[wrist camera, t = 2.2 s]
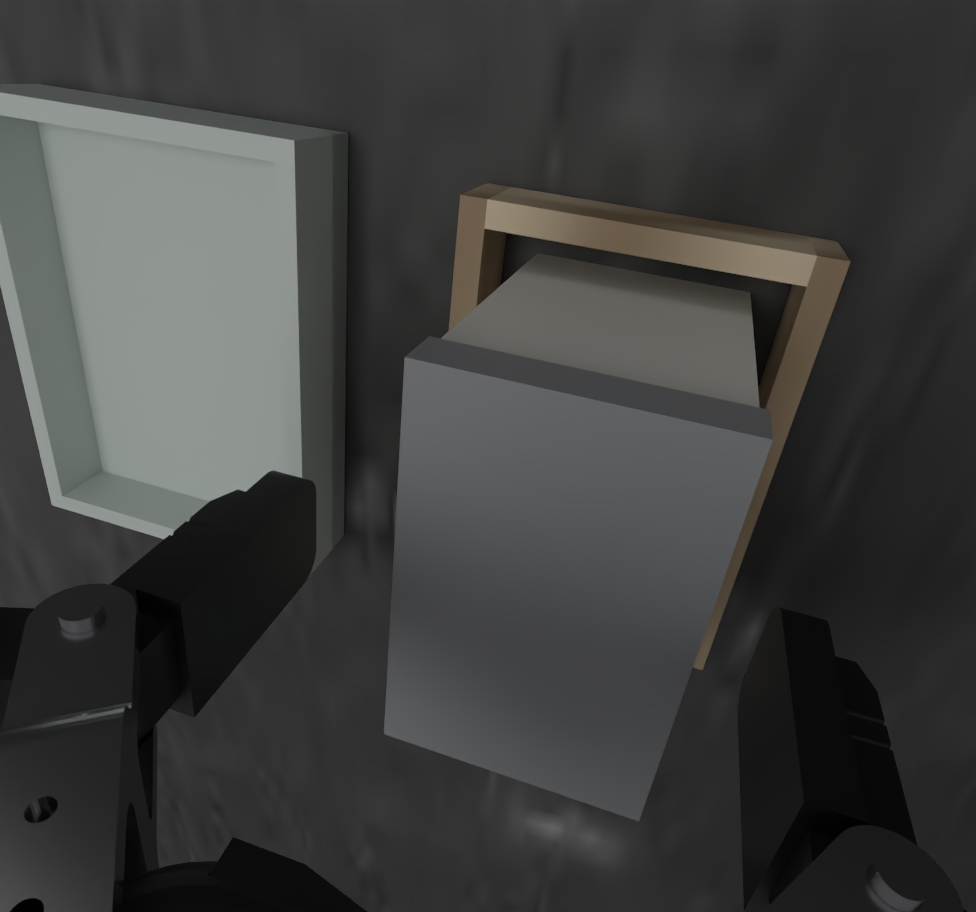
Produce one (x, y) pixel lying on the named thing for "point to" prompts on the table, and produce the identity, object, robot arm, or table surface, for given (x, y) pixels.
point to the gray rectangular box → (569, 521)
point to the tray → (175, 302)
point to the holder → (675, 240)
